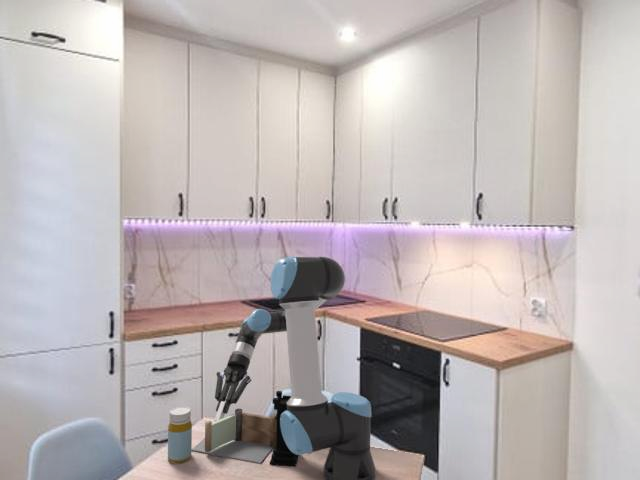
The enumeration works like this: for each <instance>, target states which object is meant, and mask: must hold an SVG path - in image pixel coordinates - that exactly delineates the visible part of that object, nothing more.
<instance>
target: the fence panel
mask: <svg viewBox="0 0 640 480" xmlns="http://www.w3.org/2000/svg"><path fill="white" fill-rule="evenodd" d="M204 423H205V424H204V438H205V452H210V451H211V450H213V449H215V448H217V447H219V446H221V445H223V444H225V443H228V442H230V441H232V440H234V439H236V415H235V413H233V414H231V415H228V416H226V417H225V416H224V417H223V419H220V420H218V421H216V422H215V421H213V422H212V421H211V420H207V421H205V422H204Z"/></svg>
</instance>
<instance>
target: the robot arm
mask: <svg viewBox="0 0 640 480" xmlns="http://www.w3.org/2000/svg"><path fill="white" fill-rule="evenodd" d="M345 282H346V277H345V272H344V270H343V267H342V266H341V265H340V264H339V262H338V261H336V260H334V259H332V258H331V257H327V256H319V257H318V256H316V257H315V256H308V257H307V256H291V257H284V258H280V259H278V260H277V262H276V263H275V264H274V267H273V268H272V271H271V275H270V290H271V291H270V292H271V294H272V296H273V298H274V299H277V300H279V306H280V307H281V308H282V309H283V310H281V311H280V310H279V311H270V312H269V311H267V310H265V309H263V308H258V309H255V310H254V311H253V312H252V313H251V314H249V316H248V317H246V318H244V320H243V322H242V324H241V325H240V329H239V332H238V335H237V337H236V340H235V343H234V345H233V348H232V351H231V353H230V356H229V358H228V361H227V365H226V367H225V368H224V369H223V371H221V372H220V371H218V372H216V378H217V379H216V386H215V393H214V399H215V400H216V402H218V403H217V405H216V408H215V411H216V415H215V418H214V421H213V422H216V421H218V420H220V419H223V418H225V415H226V414H228V413H229V410H230V408H231V405H233V404H237V403H238V401H239V399H240V398H241V396H242V395H243V393H244V391H245V389H246V387H247V385H249V384H250V383H251V382H252V378H251V376H250V375H248V370H249V367H250V363H251V360H252V358H253V354H254V352H255V349H256V345H257V343H258V340H259V339H260V337H262V335H265V334H266V335H267V334H275V333H283V332H286V339H287V353H288V365H289V379H290V391H291V392H290V394H291V395H290V396H291V398H290V399H289V400H288V401H287V411H284V412H283V413H282V414H281V418H280V427H281V432H282V436H283V438H284V441H285V443H286V445H287V447H288V448H289V450H290V451H291V452H292V453H294V454H296V455H299V456H302V455H305V454H309V455H311V454H312V453H315V452H318V451H321V450H325V449H329V450H328V454H327V456H326V459H325V461H324V465H323V476H324V478H325V479H326V480H376V465H375V461H374V459H373V456H372V452H371V430H372V429H371V427H372V426H371V424H372V422H371V421H372V417H373V416H372V405H371V402H370V401H369V399H367V398H366V397H364V396H362V395H360V394H357V393H353V392H345V391H344V392H343V391H342V392H335V393H333V395H332V396H331V399H330V400H331V401H330V402H329V399H328V397H327V396H326V395H325V394H323V392H322V380H321V368H320V357H319V356H320V355H319V346H318V345H319V344H318V332H317V320H316V310H318V309H319V307H321V306H322V305H323V304H324V303H325V302H326V301H330V300H332V299H334V298H336V297H337V296H338V295H339V294H340V293H341V292H342V290H343V289H344V286H345ZM224 378H225V380H224ZM223 383H224V384H223Z"/></svg>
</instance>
